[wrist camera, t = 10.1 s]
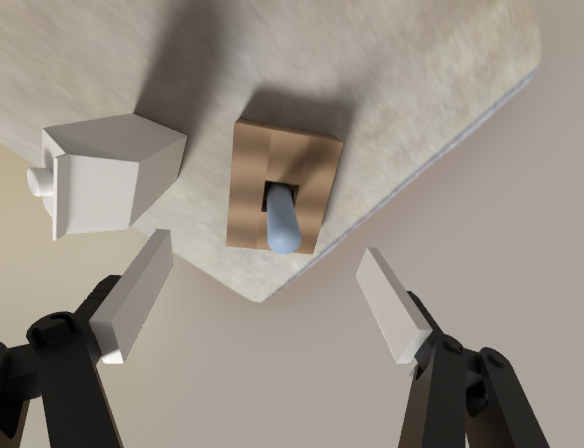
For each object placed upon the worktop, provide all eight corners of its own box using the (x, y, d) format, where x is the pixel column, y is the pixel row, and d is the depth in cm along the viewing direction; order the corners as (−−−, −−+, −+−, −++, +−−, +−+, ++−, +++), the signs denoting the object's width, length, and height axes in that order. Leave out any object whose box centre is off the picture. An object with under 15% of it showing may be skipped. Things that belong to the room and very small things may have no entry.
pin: (268, 176, 37) (270, 223, 24) (290, 180, 37) (304, 227, 24) (265, 197, 38) (265, 252, 25) (287, 200, 39) (298, 255, 26)
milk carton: (188, 135, 34) (114, 177, 17) (177, 180, 37) (104, 253, 20) (132, 112, 32) (-11, 135, 15) (125, 162, 35) (-2, 226, 18)
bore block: (238, 118, 33) (234, 122, 29) (334, 136, 36) (343, 142, 31) (230, 229, 42) (226, 245, 37) (308, 238, 44) (313, 254, 40)
